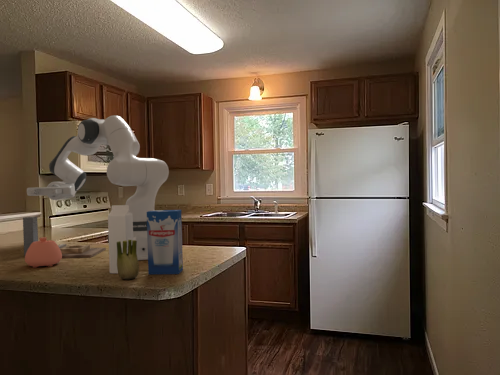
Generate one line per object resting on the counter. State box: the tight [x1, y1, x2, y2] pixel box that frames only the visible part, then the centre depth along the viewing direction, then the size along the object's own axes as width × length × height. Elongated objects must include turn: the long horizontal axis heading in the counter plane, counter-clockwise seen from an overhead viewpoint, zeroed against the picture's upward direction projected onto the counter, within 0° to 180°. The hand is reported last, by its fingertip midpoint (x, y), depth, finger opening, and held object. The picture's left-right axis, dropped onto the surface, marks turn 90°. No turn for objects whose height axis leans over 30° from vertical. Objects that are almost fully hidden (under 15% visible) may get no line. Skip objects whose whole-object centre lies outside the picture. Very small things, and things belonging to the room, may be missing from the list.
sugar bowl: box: [24, 236, 63, 269], centre depth 156 cm, size 12×14×10 cm
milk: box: [107, 204, 133, 274], centre depth 141 cm, size 6×6×22 cm
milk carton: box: [147, 209, 184, 275], centre depth 138 cm, size 10×6×20 cm, turn 87°
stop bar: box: [22, 216, 39, 257], centre depth 178 cm, size 4×4×16 cm
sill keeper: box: [57, 243, 107, 259], centre depth 178 cm, size 22×18×3 cm
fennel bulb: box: [117, 239, 140, 281], centre depth 130 cm, size 6×5×12 cm
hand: (43, 191), depth 191 cm, fingers open, 8 cm apart
